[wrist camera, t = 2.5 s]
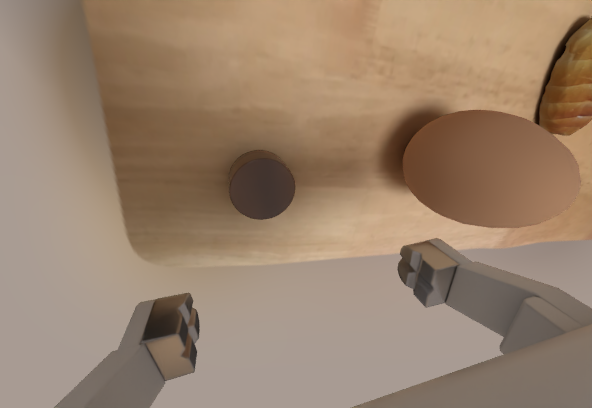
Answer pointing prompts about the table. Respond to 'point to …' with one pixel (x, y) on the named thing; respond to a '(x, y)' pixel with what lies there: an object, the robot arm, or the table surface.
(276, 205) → the brown bottle cap
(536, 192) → the egg
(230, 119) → the table surface
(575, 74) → the pastry
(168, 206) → the table surface
